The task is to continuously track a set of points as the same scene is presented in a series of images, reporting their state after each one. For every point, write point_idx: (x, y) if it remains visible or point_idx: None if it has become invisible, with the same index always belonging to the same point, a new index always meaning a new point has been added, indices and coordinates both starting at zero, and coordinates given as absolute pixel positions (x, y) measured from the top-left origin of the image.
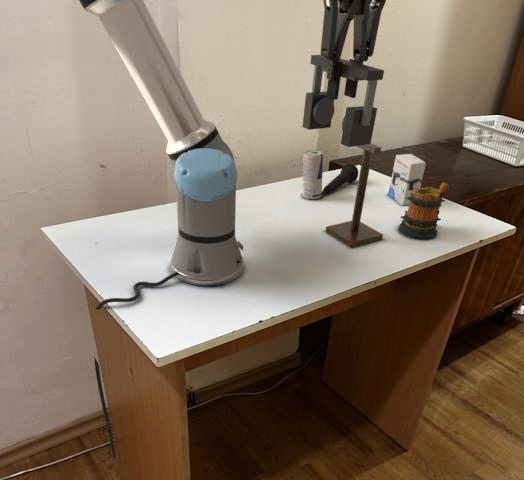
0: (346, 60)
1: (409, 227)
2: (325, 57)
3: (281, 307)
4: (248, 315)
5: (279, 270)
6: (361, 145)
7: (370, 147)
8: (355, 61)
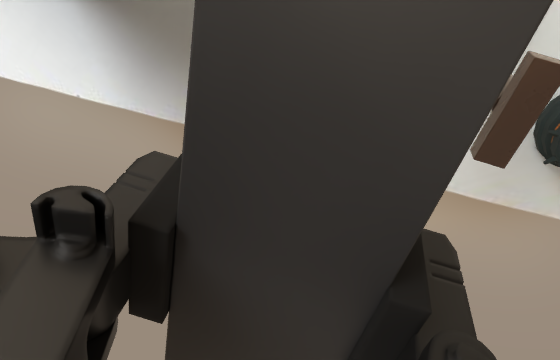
0: (370, 269)
1: (552, 128)
2: (59, 192)
3: (122, 97)
4: (69, 76)
5: (190, 13)
6: (513, 83)
7: (486, 134)
8: (354, 353)
